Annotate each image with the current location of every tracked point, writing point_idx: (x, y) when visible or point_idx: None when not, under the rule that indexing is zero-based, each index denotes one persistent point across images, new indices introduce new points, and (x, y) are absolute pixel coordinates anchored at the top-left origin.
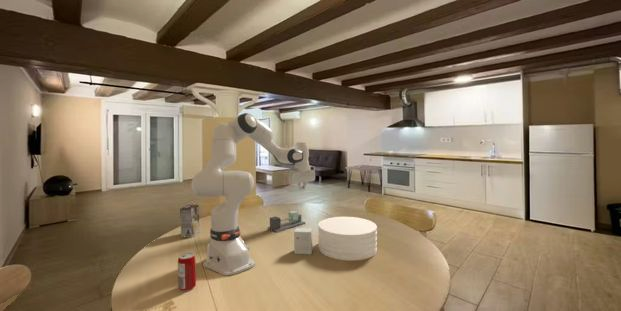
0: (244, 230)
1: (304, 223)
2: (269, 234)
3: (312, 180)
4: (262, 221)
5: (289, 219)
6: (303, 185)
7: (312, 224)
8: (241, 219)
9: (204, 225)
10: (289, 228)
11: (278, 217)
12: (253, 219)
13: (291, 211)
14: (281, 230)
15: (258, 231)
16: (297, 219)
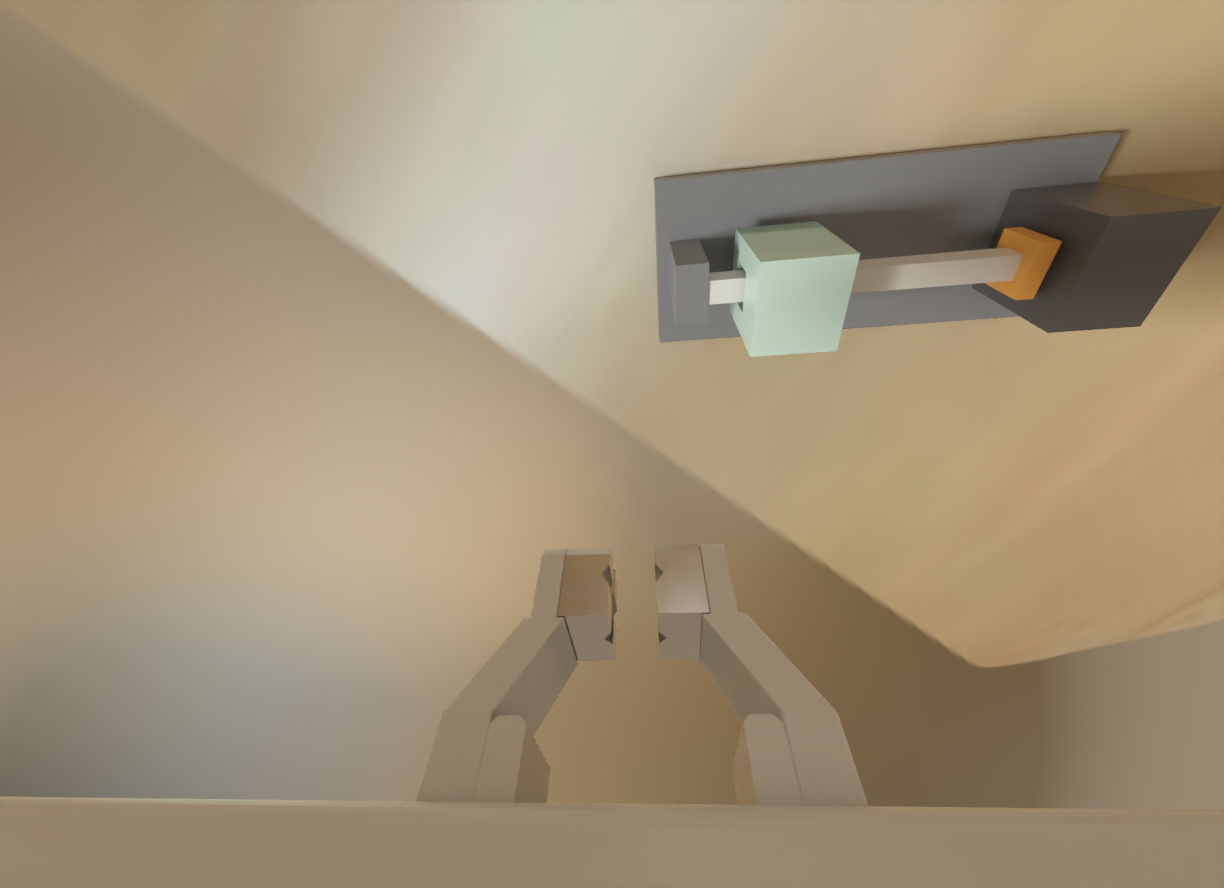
0: (1150, 392)
1: (669, 177)
2: (1214, 123)
3: (30, 841)
4: (861, 482)
5: None
6: (557, 679)
7: (597, 93)
8: (905, 577)
9: (1124, 597)
10: (907, 152)
11: (1085, 262)
12: (860, 543)
13: (796, 344)
14: (1036, 140)
15: None
16: (749, 233)
